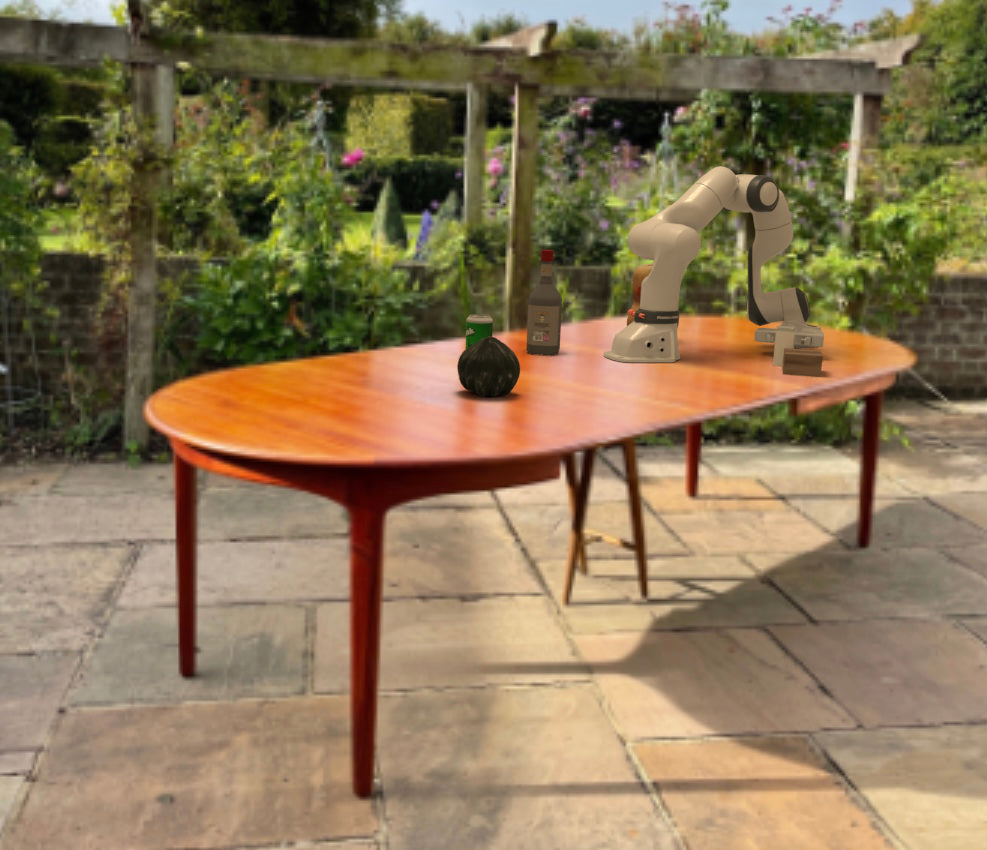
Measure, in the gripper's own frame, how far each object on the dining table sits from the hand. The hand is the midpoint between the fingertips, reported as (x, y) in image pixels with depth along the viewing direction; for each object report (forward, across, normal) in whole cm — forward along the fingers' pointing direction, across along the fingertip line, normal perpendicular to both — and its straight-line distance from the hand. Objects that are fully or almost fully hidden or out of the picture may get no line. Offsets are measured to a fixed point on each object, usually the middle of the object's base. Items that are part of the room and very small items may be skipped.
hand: (786, 340), depth 322 cm
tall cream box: (+9, 0, +6) cm, 11 cm away
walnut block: (+19, +6, +6) cm, 21 cm away
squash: (+89, -61, +7) cm, 108 cm away
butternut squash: (-12, -44, +6) cm, 46 cm away
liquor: (+25, -67, +6) cm, 72 cm away
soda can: (+43, -81, +6) cm, 92 cm away
